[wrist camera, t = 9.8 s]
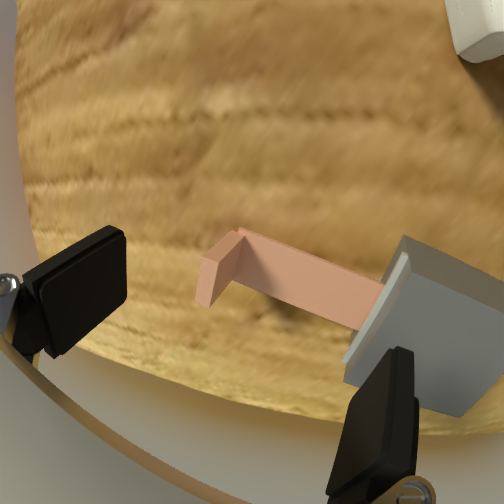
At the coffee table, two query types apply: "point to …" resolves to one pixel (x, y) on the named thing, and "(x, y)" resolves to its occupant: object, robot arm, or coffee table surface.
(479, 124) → the coffee table surface
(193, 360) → the coffee table surface
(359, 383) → the block
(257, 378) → the coffee table surface
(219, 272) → the pink l-shaped bracket
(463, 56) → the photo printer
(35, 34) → the coffee table surface
